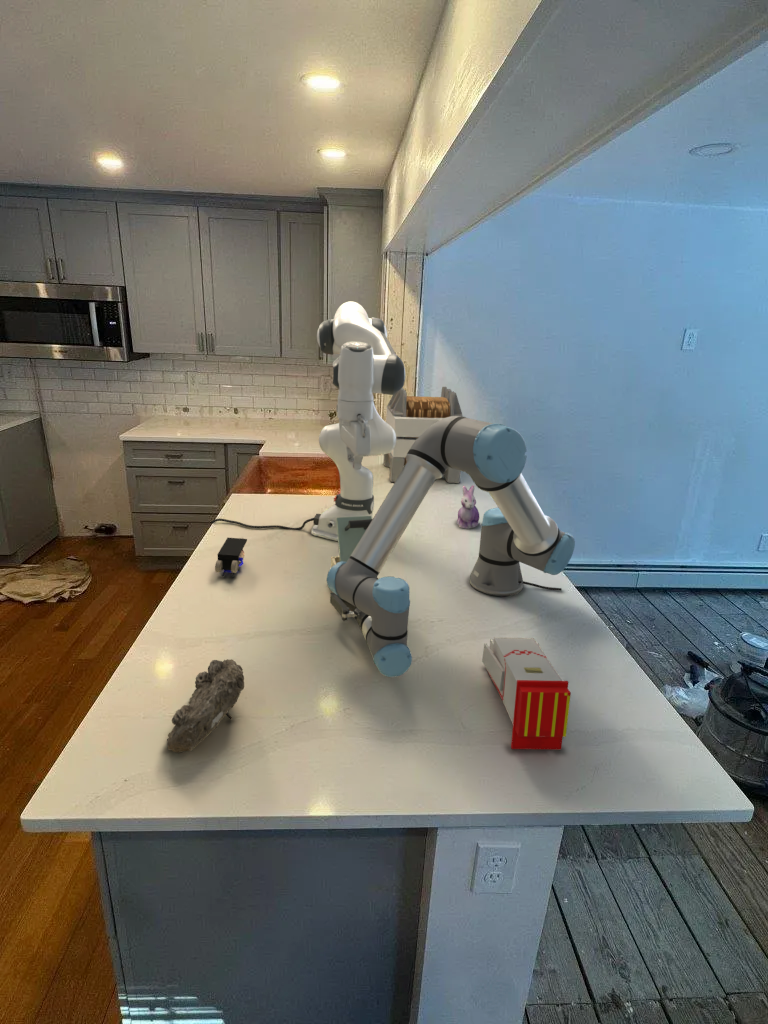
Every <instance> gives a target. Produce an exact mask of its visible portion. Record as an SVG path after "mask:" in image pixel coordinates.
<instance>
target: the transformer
mask: <svg viewBox="0 0 768 1024" xmlns="http://www.w3.org/2000/svg"><path fill="white" fill-rule="evenodd" d="M440 393H441V394H440V396H415V395H414V396H413V395H412V396H411V395H407V394H408V393H407V390H406V389H404V388H403V387H402V388H401V389H400V390H399V391H398V392H397V393H395V394H394V395H391V398H390V400H389V402H388V404H387V405H386V413H385V414H386V415H385V422H386V423H387V424H389V425H390V426H391V427H392V428H393V429H394V431H395V433H396V445H395V447H394V449H393V450H392V452H391V453H387V454H384V455H383V466H384V467H388V468H389V475H388V476H389V477H388V478H389V480H390V482H391V483H395V481H396V480H397V478H398V476H399V475H400V473H401V471H402V470H403V468H404V466H405V465H406V463H407V461H406V455H407V453H408V451H409V450H410V448H411V446H412V445H413V444H414V442H415V441H416V440H417V439H418V437H419V436H420V435H421V434H422V433H423V432H424V431H425V430H426V429H428V428H429V427H430V426H431V425H433V424H434V423H436V422H437V421H439V420H441V419H443V418H446V417H450V416H462V417H463V411H462V408H461V405H460V402H459V398H458V395H457V392H455V391H453V390H452V389H451V388H447V386H442V387H441V392H440ZM461 472H462V471H460V470H457V469H454V468H451V467H450V468H448V469H447V470H446V471H445V472H444V474H443V476H442V477H443V478H444V479H445V481H446V482H447V483H449V484H455V483H456V484H459V483H461Z"/></svg>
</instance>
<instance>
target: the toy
mask: <svg viewBox="0 0 768 1024" xmlns="http://www.w3.org/2000/svg"><path fill="white" fill-rule="evenodd" d="M481 662H482V664H483V665H484V667H485V670H486V671H487V673H488V675H489V677H490V679H491V681H492V683H493V685H494V687H495V688H496V691H497V692H498V694H499V697H500V698H501V701H502V703H503V705H504V708H505V710H506V712H507V715H508V717H509V719H510V722H511V723H512V731H511V732H512V733H511V744H510V749H511V750H552V751H553V750H556V751H557V750H561V751H562V746H563V738H566V737H567V730H568V723H569V712H570V703H571V696H572V695H571V694H572V693H571V691H570V690H569V681H568V680H563V679H562V678H561V676H560V675H559V673H558V672H557V670H556V669H555V667H554V666H553V665H552V663H551V661H550V660H549V658H548V657H547V655H546V654H545V652H544V650H543V649H542V647H541V645H540V643H539V642H537V641H536V639H535V638H534V637H503V636H502V637H497V636H496V637H495V636H494V637H493V638H490V640H489V644H488V643H484V644H483V651H482V659H481Z"/></svg>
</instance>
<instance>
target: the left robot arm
mask: <svg viewBox="0 0 768 1024" xmlns="http://www.w3.org/2000/svg"><path fill="white" fill-rule="evenodd" d="M316 341H317V344H318V347H319V349H320V351H321V352H322V353H323V354H325V355H331V356H333V355H338V357H337V358H336V359H335V360H334V361H333V362H332V370H333V371H332V372H333V375H332V385H333V386H334V387H336V388H337V389H338V390H337V391H338V394H337V404H336V413H337V414H336V415H337V418H338V423H332V424H328V425H325V426H324V427H322V429H321V431H320V432H319V435H318V444H319V447H320V449H321V451H322V452H323V454H325V455H326V456H327V457H329V458H330V459H331V460H332V462H333V463H334V464H335V466H336V467H337V470H338V474H339V483H340V484H339V485H340V488H339V489H340V490H339V491H338V492H337V494H336V495H335V496H334V497H333V502H334V504H333V505H331V506H329V507H328V508H326V509H325V510H323V512H321V513H315V515H314V517H312V518H309V519H306V520H305V521H304V522H303V523H302V525H301V526H299V527H289V526H284V525H279V524H277V525H276V524H275V525H273V524H271V525H250V524H246V523H242V522H241V521H236V520H231V519H226V518H214V519H213V520H212V521H211V522H210V524H214V523H216V522H225V523H230V524H235V525H239V526H242V527H245V528H250V529H283V530H293V531H301V530H303V529H304V527H305V526H306V524H308V523H310V522H312V521H313V524H312V525H313V526H312V528H311V530H310V533H311V536H315V537H319V538H323V539H326V540H330V541H336V542H338V534H337V522H336V518H340V517H359V516H372V519H373V518H374V513H373V512H374V509H375V496H374V474H373V472H372V471H371V469H369V468H368V467H366V466H364V465H362V462H363V458H364V457H378V456H382V455H383V456H384V454H387V453H391V452H392V450H393V449H394V447H395V445H396V433H395V431H394V429H393V428H392V427H391V426H390V425H389V424H387V423H386V420H384V419H383V418H382V417H381V415H380V414H379V412H378V410H377V408H376V405H375V400H374V399H375V398H374V394H382V395H390V396H393V395H394V394H395V393H397V392H398V391H399V390H400V389H401V388H403V387H404V385H405V382H406V381H405V380H406V368H405V365H404V362H403V360H402V359H401V357H400V356H398V355H397V353H396V352H395V349H394V348H393V346H392V344H391V343H390V340H389V338H388V331H387V327H386V325H385V322H384V321H383V320H382V319H381V318H378V317H373V316H372V317H369V315H368V313H367V311H366V309H365V308H364V307H363V305H361V304H360V303H359V302H356V301H345V302H344V303H342V304H341V305H339V307H338V308H337V310H336V311H335V314H334V317H333V318H330V317H329V318H327V319H326V320H324V321H322V322H321V323H320V324H319V325H318V329H317V332H316Z"/></svg>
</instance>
